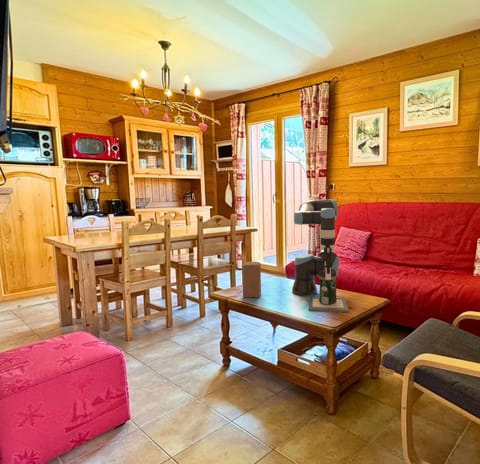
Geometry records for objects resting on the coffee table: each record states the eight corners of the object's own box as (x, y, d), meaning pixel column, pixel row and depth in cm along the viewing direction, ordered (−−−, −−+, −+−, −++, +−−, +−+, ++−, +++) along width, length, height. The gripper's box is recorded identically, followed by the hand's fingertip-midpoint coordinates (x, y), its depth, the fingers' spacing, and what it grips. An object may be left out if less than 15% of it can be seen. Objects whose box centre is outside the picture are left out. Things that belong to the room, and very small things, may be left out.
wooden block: (259, 298, 206) (258, 265, 204) (242, 297, 208) (241, 264, 206) (261, 293, 216) (260, 261, 214) (245, 293, 218) (244, 261, 216)
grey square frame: (309, 299, 202) (309, 296, 202) (345, 300, 198) (345, 297, 198) (308, 310, 183) (308, 307, 183) (348, 312, 179) (348, 309, 178)
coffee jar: (325, 299, 197) (325, 266, 194) (338, 301, 191) (338, 268, 189) (316, 303, 190) (316, 269, 188) (329, 306, 184) (329, 271, 182)
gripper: (320, 234, 199) (320, 270, 202) (321, 240, 175) (321, 282, 177) (333, 234, 198) (333, 270, 200) (336, 240, 173) (336, 282, 176)
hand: (327, 276), depth 189 cm, fingers open, 13 cm apart
